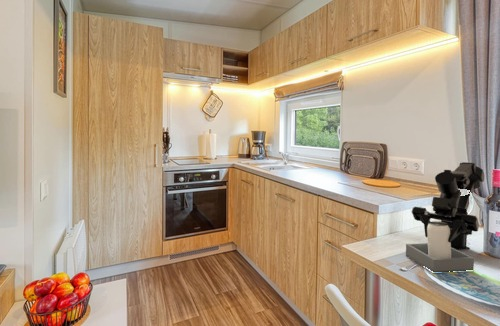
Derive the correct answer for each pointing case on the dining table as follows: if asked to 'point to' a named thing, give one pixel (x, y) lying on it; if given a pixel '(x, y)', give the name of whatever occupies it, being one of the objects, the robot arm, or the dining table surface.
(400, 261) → the dining table surface
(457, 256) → the tote
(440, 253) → the can
